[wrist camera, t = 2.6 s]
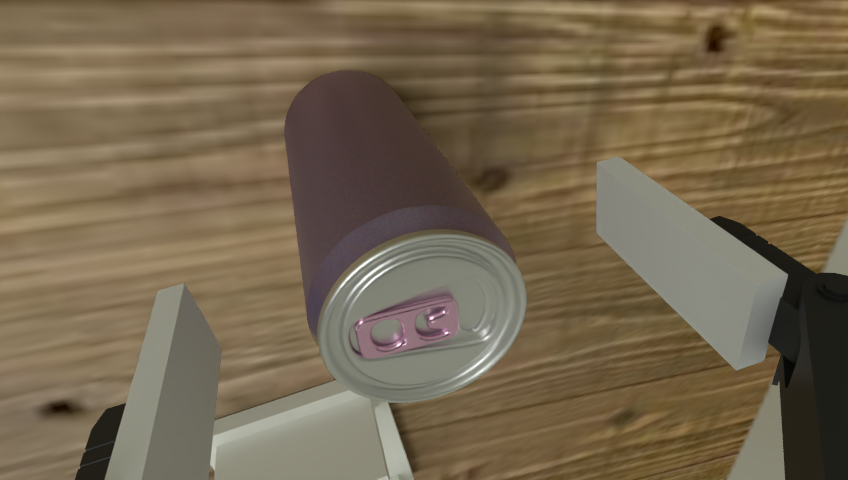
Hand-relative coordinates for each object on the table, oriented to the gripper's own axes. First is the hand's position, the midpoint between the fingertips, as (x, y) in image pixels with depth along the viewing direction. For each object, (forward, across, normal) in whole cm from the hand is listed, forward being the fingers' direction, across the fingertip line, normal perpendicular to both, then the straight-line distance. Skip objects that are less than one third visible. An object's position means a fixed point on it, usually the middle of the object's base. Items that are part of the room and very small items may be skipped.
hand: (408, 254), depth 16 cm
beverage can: (+12, 0, 0) cm, 12 cm away
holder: (+12, -9, -23) cm, 27 cm away
